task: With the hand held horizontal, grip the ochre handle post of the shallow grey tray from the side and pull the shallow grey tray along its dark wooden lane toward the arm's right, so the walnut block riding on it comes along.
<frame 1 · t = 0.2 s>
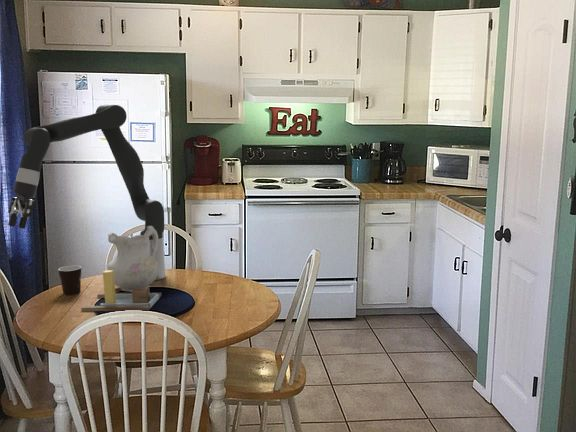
hand: (16, 227, 237), 31 cm above the table, tool tilted 20°, fingers open, 8 cm apart
ceramic pitcher: (137, 290, 265), on the table
coffee mug: (73, 292, 265), on the table
shallow grey tray: (129, 288, 243), point 7 cm above the table, slide at 0.0 cm, touching block
block: (141, 302, 244), point 1 cm above the table, touching shallow grey tray
lane: (123, 306, 244), on the table
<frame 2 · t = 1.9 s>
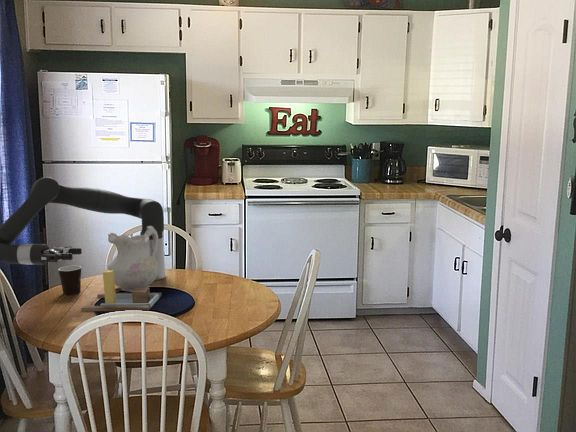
hand: (76, 253, 242), 20 cm above the table, tool horizontal, fingers open, 8 cm apart
nothing on the table moved.
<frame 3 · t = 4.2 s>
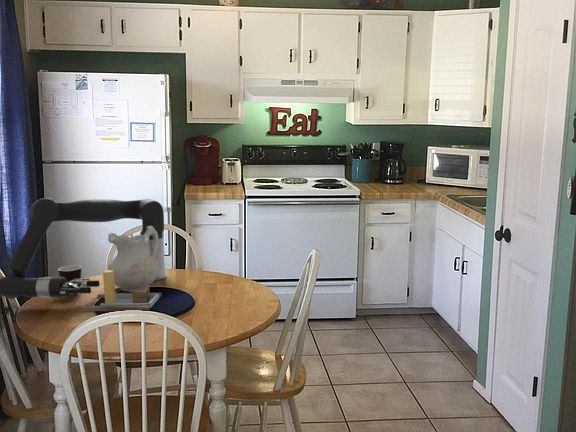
hand: (94, 286, 244), 7 cm above the table, tool horizontal, fingers open, 8 cm apart
nothing on the table moved.
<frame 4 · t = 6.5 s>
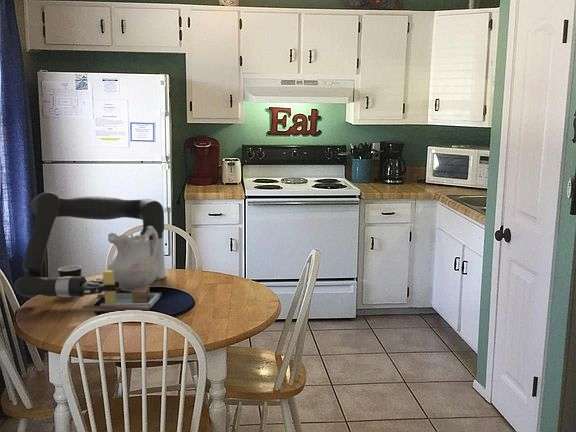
hand: (117, 286, 243), 8 cm above the table, tool horizontal, fingers closed on shallow grey tray, 3 cm apart
shallow grey tray: (129, 288, 243), point 7 cm above the table, slide at 0.0 cm, touching block, gripper
everything else where it was.
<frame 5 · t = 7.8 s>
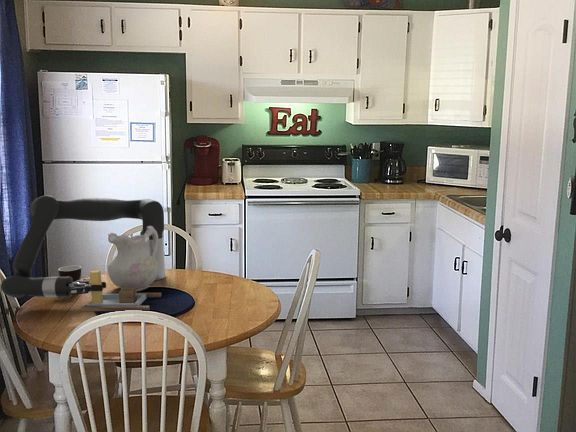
hand: (103, 286, 244), 8 cm above the table, tool horizontal, fingers closed on shallow grey tray, 3 cm apart
shallow grey tray: (116, 288, 243), point 7 cm above the table, slide at 4.9 cm, touching block, gripper
block: (128, 303, 244), point 1 cm above the table, touching shallow grey tray
everything else where it was.
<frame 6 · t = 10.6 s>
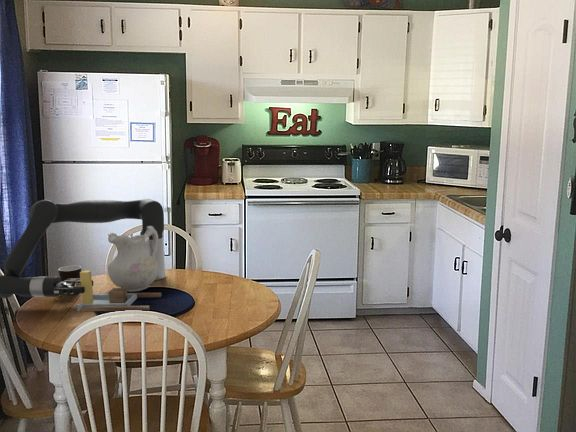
hand: (88, 286, 244), 8 cm above the table, tool horizontal, fingers open, 8 cm apart
shallow grey tray: (106, 288, 244), point 7 cm above the table, slide at 8.5 cm, touching block
block: (118, 303, 244), point 1 cm above the table, touching shallow grey tray
everything else where it was.
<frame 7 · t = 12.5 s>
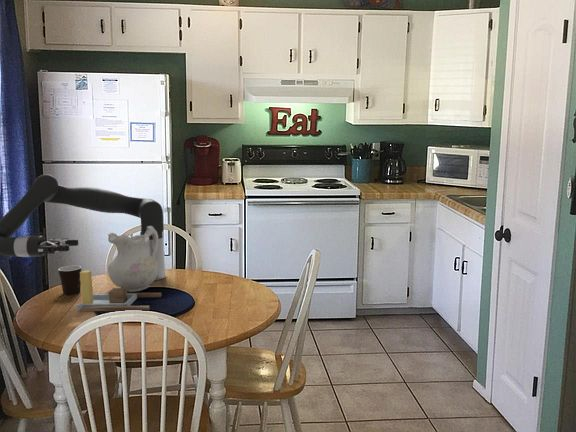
hand: (73, 245, 242), 23 cm above the table, tool horizontal, fingers open, 8 cm apart
nothing on the table moved.
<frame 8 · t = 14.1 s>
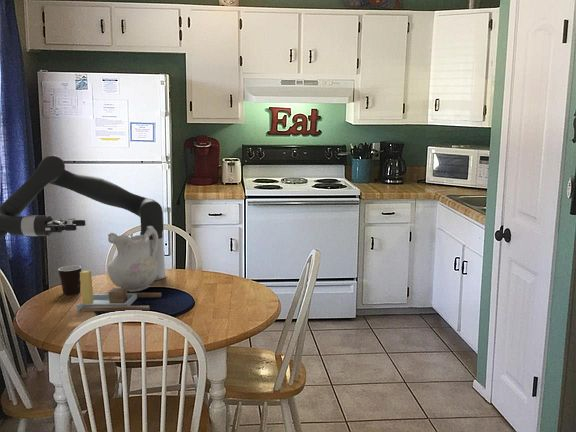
hand: (80, 225, 242), 30 cm above the table, tool horizontal, fingers open, 8 cm apart
nothing on the table moved.
at the end: shallow grey tray slide at 8.5 cm; block inside the target area on the shallow grey tray (4.0 cm from its centre), point 1.2 cm above the shallow grey tray's base; block moved 8.5 cm from its start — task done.
